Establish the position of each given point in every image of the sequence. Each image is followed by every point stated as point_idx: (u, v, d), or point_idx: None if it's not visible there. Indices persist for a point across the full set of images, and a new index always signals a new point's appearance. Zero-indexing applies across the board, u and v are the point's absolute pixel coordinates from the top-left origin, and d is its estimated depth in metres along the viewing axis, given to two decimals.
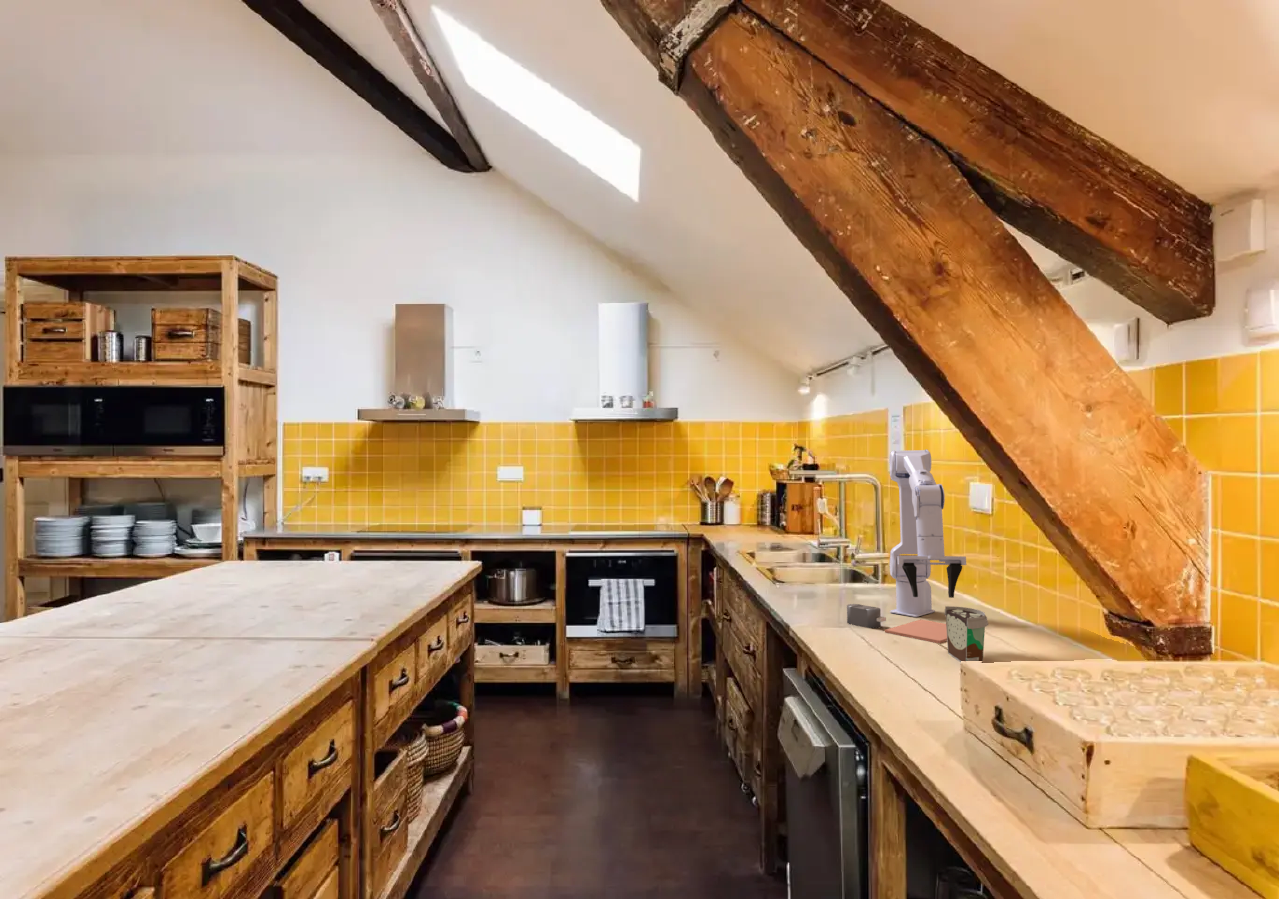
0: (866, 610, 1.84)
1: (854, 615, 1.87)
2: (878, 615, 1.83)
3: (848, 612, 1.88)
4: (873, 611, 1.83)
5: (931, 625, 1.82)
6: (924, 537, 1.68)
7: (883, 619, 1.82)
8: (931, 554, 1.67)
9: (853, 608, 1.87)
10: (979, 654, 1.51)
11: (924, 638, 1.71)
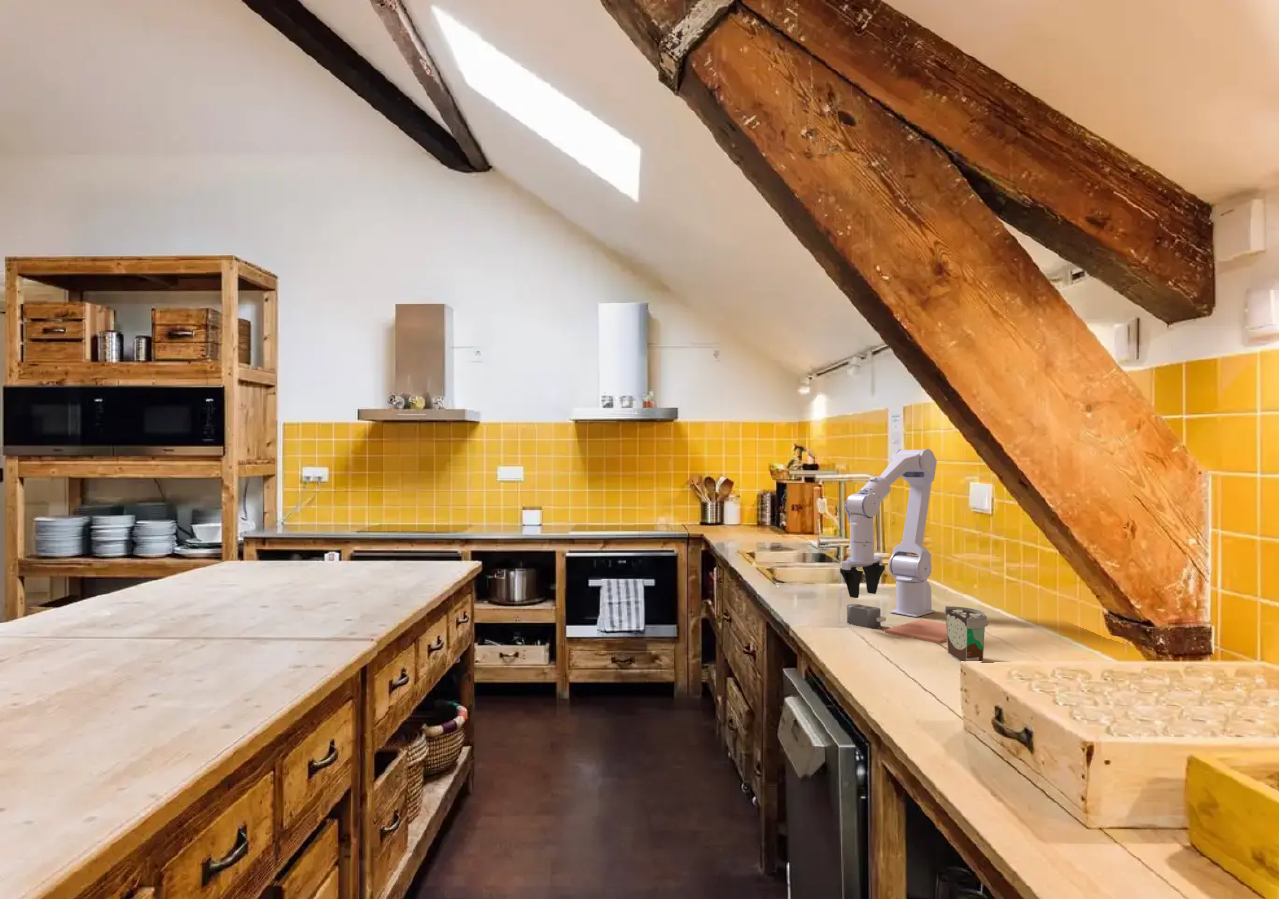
0: (866, 610, 1.84)
1: (854, 615, 1.87)
2: (878, 615, 1.83)
3: (848, 612, 1.88)
4: (873, 611, 1.83)
5: (931, 625, 1.82)
6: None
7: (883, 619, 1.82)
8: None
9: (853, 608, 1.87)
10: (979, 654, 1.51)
11: (924, 638, 1.71)
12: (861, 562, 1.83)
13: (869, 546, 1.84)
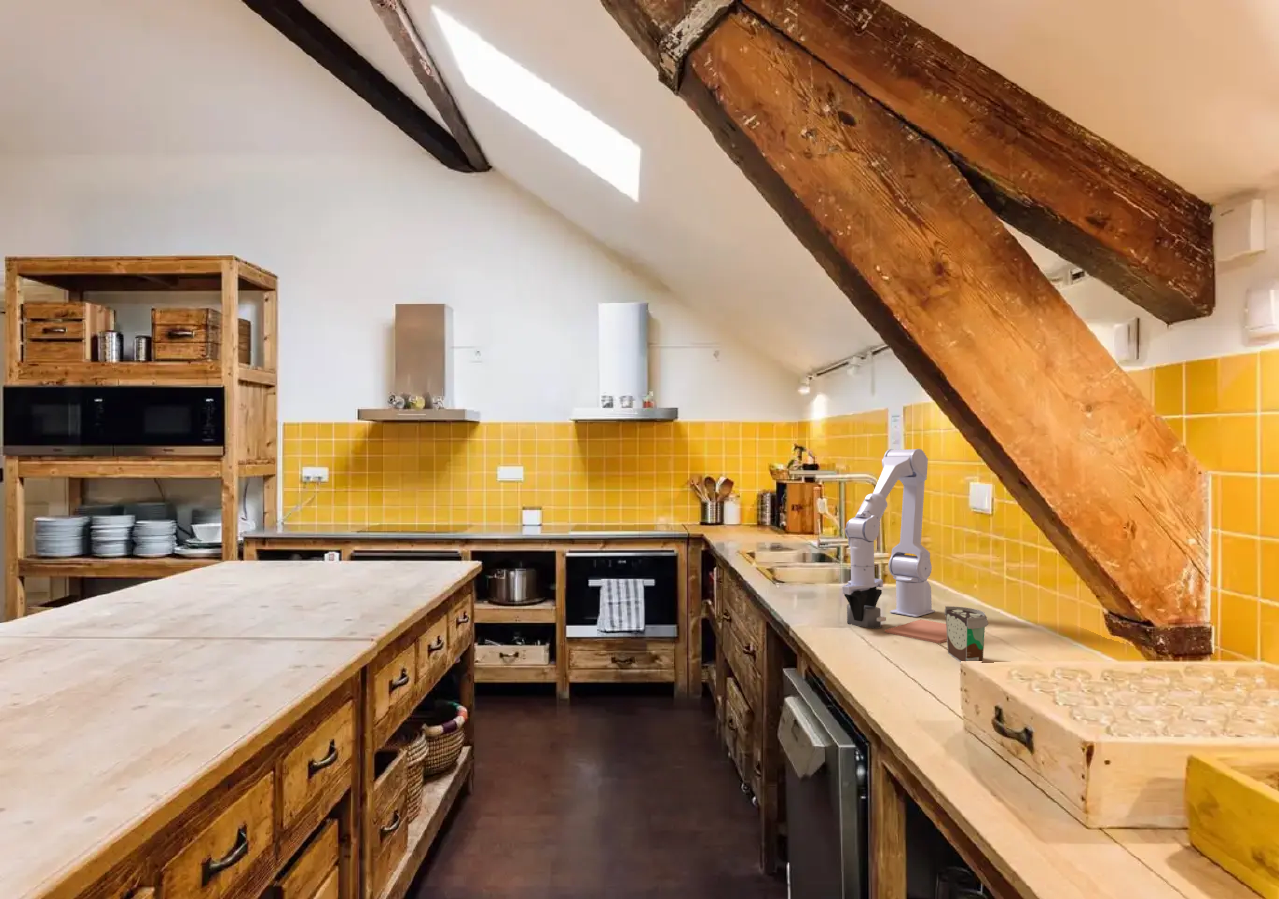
0: (866, 610, 1.84)
1: None
2: (878, 615, 1.83)
3: (848, 612, 1.88)
4: (873, 611, 1.83)
5: (931, 625, 1.82)
6: None
7: (883, 619, 1.82)
8: None
9: None
10: (979, 654, 1.51)
11: (924, 638, 1.71)
12: (862, 586, 1.83)
13: (870, 570, 1.84)
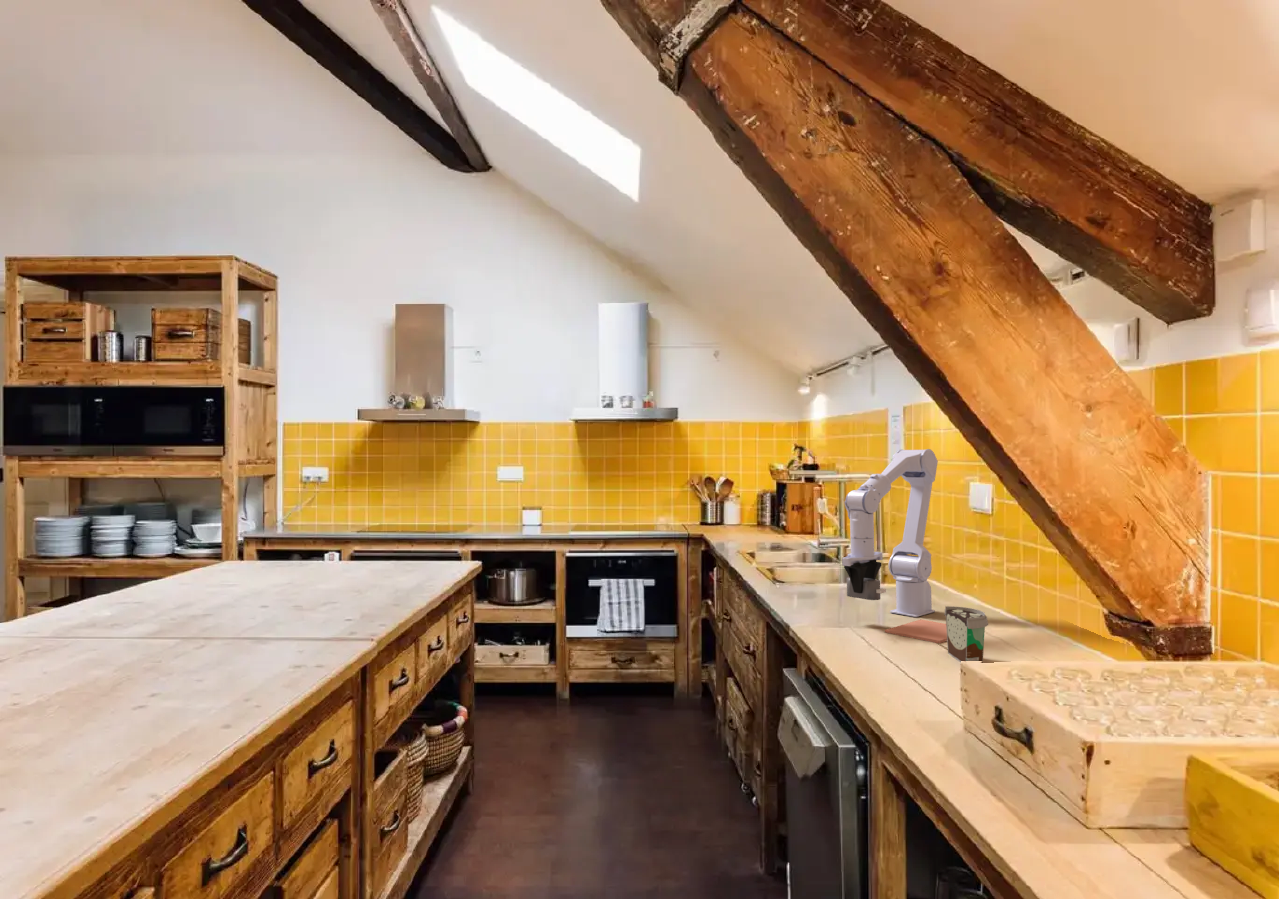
0: (866, 582, 1.84)
1: None
2: (878, 587, 1.83)
3: (848, 584, 1.88)
4: (873, 583, 1.83)
5: (931, 625, 1.82)
6: None
7: (883, 591, 1.82)
8: None
9: None
10: (979, 654, 1.51)
11: (924, 638, 1.71)
12: (861, 558, 1.83)
13: (869, 542, 1.84)
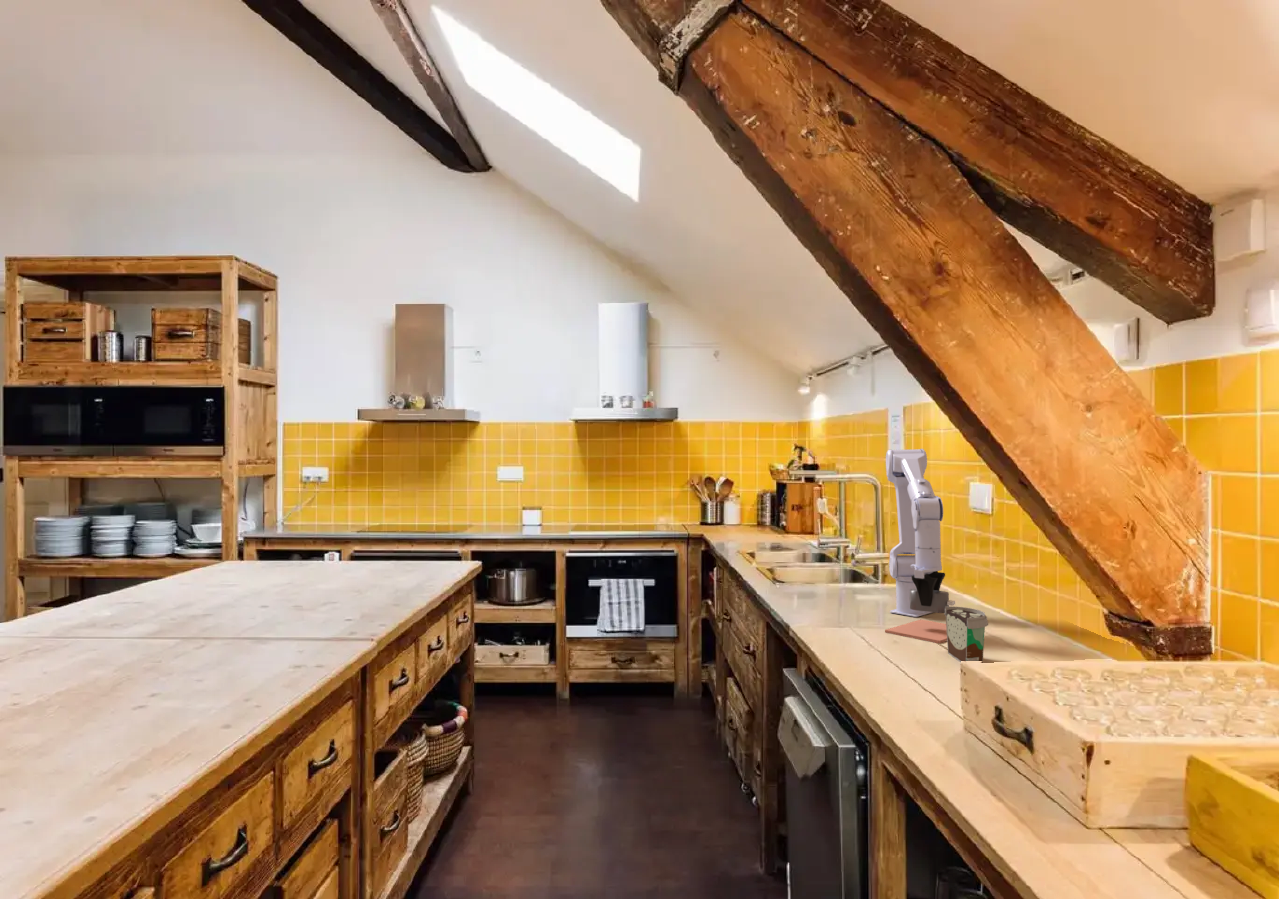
0: (935, 594, 1.75)
1: None
2: (948, 599, 1.75)
3: (913, 597, 1.79)
4: (943, 595, 1.75)
5: (931, 625, 1.82)
6: None
7: (953, 603, 1.75)
8: None
9: None
10: (979, 654, 1.51)
11: (924, 638, 1.71)
12: (932, 569, 1.74)
13: (938, 552, 1.76)
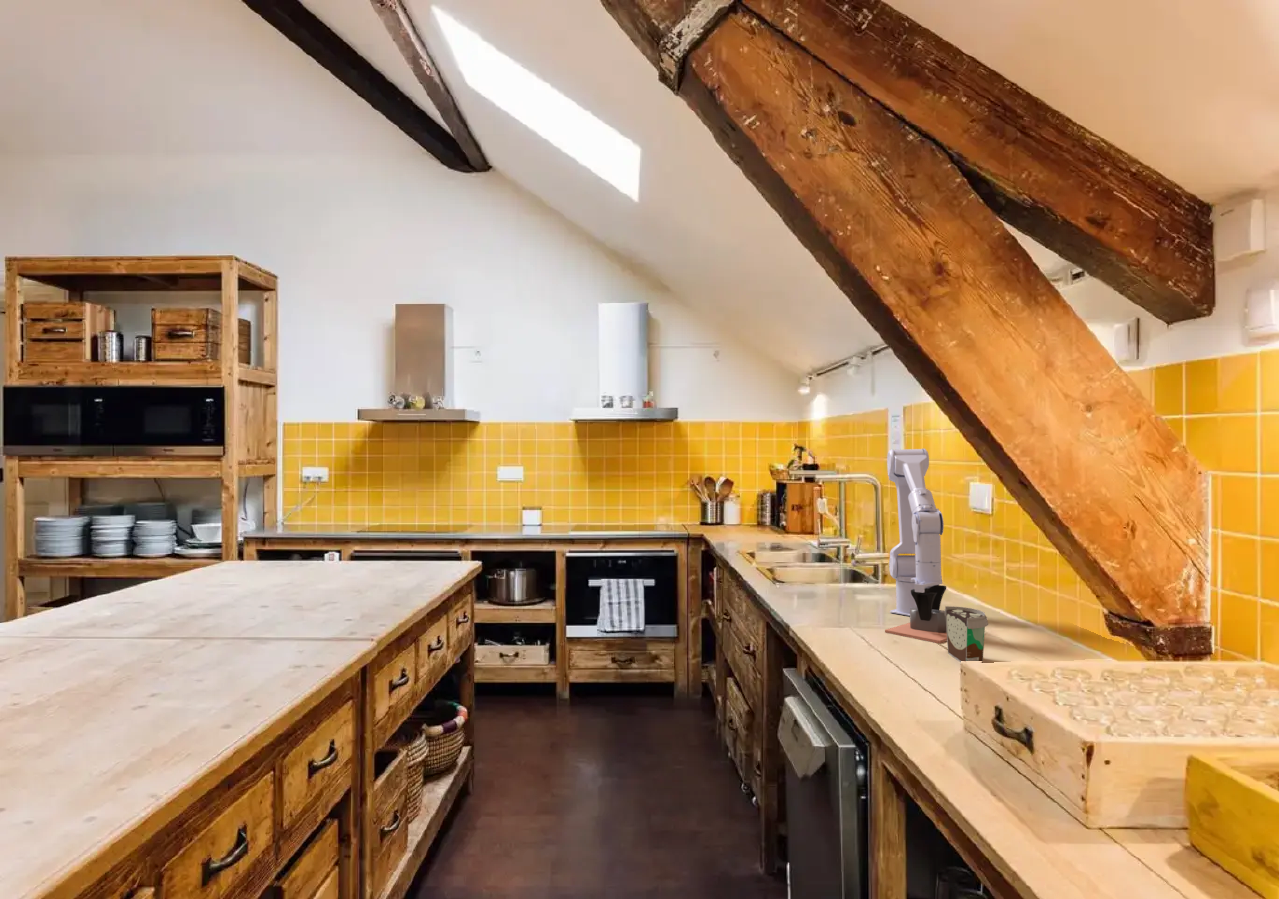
0: (936, 614, 1.75)
1: None
2: None
3: (913, 617, 1.79)
4: (944, 615, 1.75)
5: None
6: None
7: None
8: None
9: None
10: (979, 654, 1.51)
11: (924, 638, 1.71)
12: (933, 583, 1.74)
13: (938, 566, 1.76)
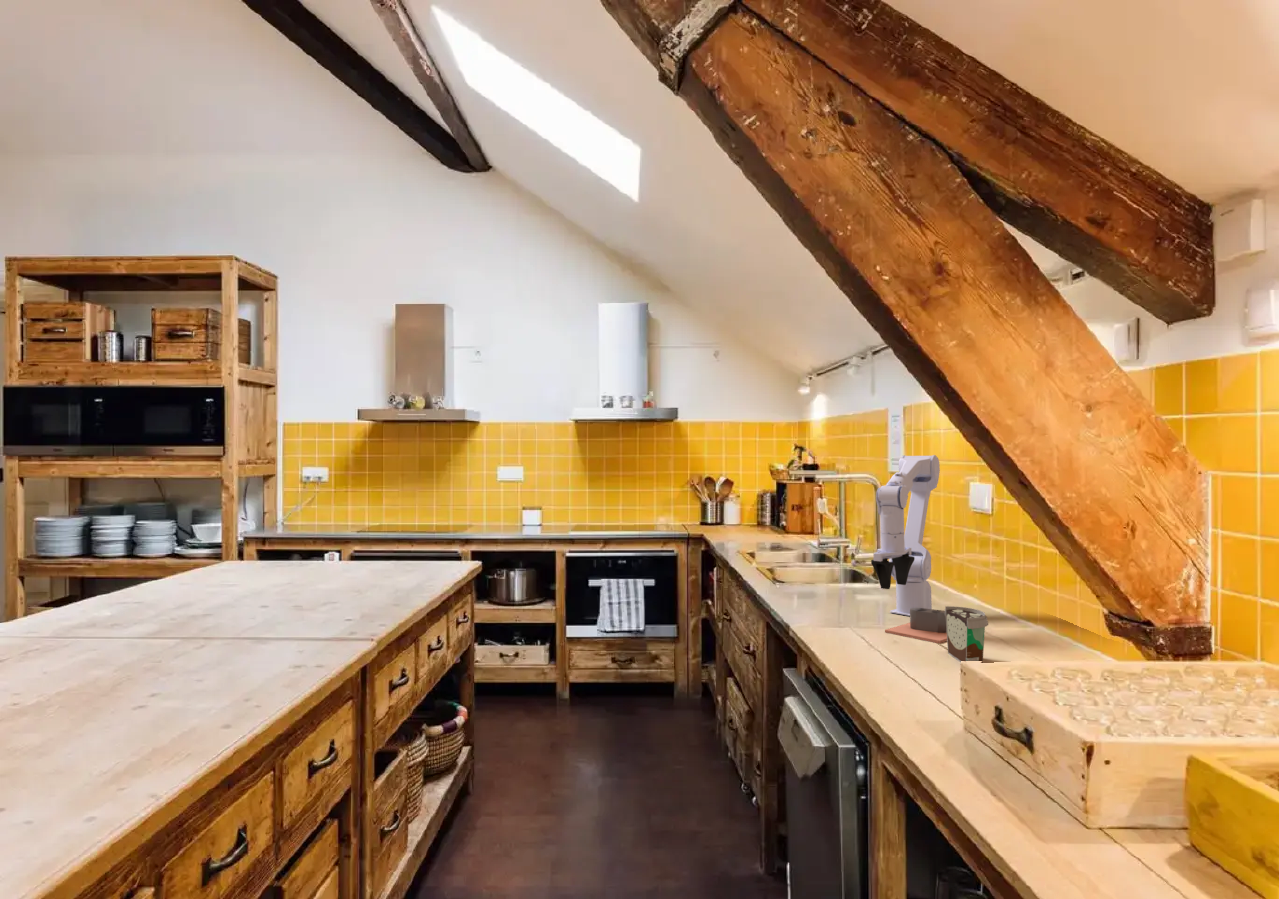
0: (936, 614, 1.75)
1: (921, 619, 1.78)
2: None
3: (913, 617, 1.79)
4: (944, 615, 1.75)
5: None
6: None
7: None
8: None
9: (920, 612, 1.78)
10: (979, 654, 1.51)
11: (924, 638, 1.71)
12: (892, 553, 1.84)
13: (900, 537, 1.85)
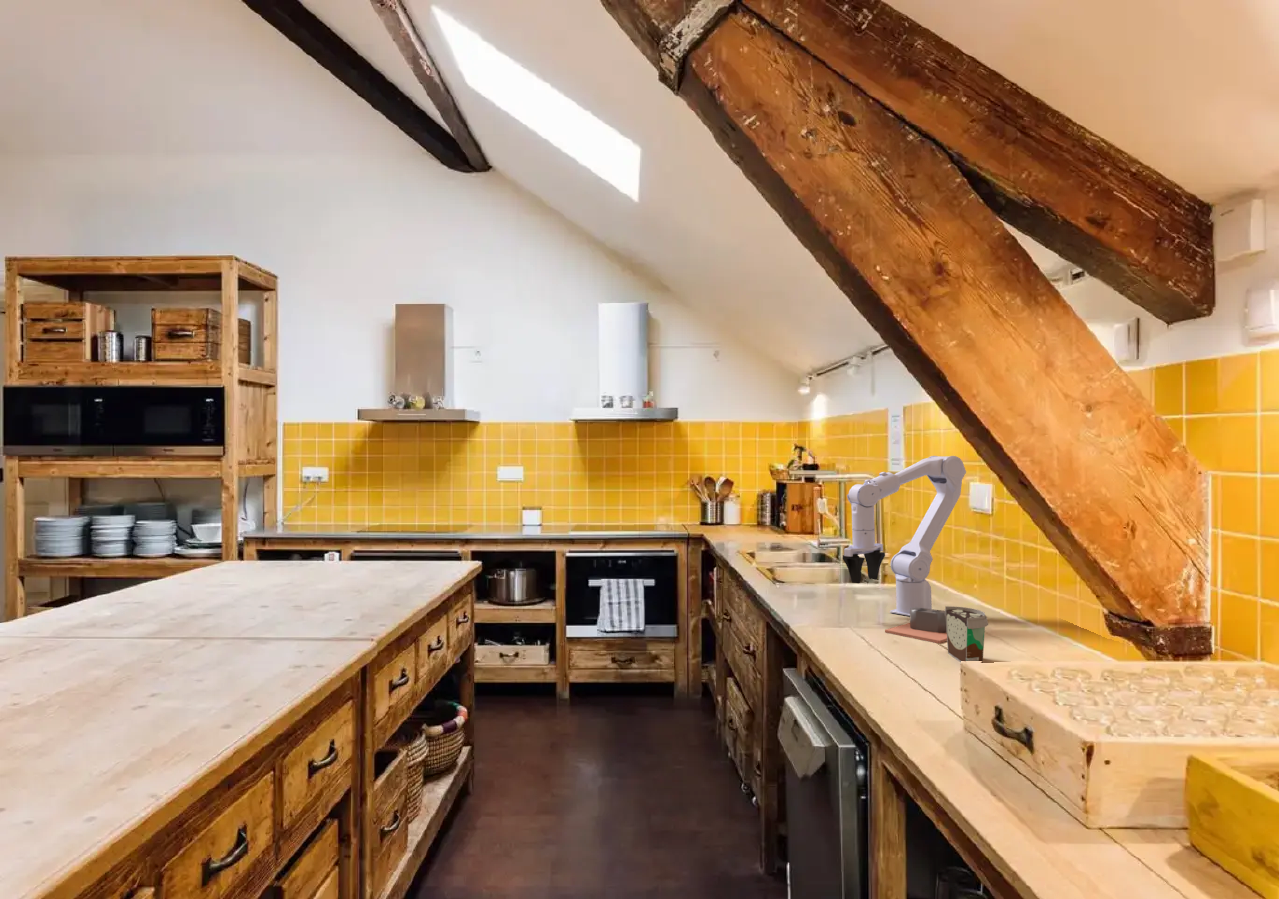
0: (936, 614, 1.75)
1: (921, 619, 1.78)
2: None
3: (913, 617, 1.79)
4: (944, 615, 1.75)
5: None
6: None
7: None
8: None
9: (920, 612, 1.78)
10: (979, 654, 1.51)
11: (924, 638, 1.71)
12: (863, 549, 1.92)
13: (870, 534, 1.93)
